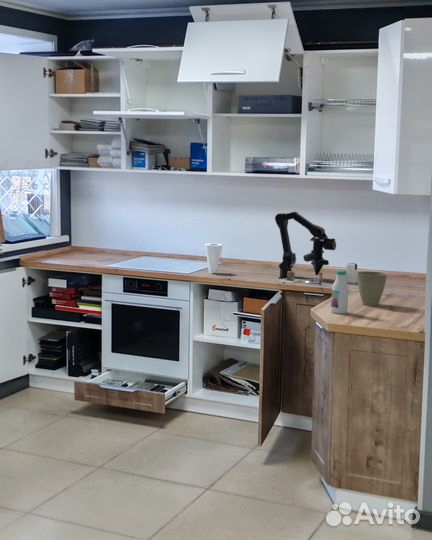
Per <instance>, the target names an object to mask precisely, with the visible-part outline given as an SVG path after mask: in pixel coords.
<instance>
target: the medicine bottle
mask: <svg viewBox="0 0 432 540" xmlns="http://www.w3.org/2000/svg"><path fill="white" fill-rule="evenodd" d="M345 271H346V276H345V278H346V282H347V284H358V281H357V272H359V271H358V264H357V263H354V262H348V263H347V264H346V270H345Z"/></svg>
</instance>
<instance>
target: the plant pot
mask: <svg viewBox="0 0 432 540" xmlns="http://www.w3.org/2000/svg"><path fill="white" fill-rule="evenodd" d="M387 277H388V274H387V273H386V272H381V271H358V272H357V281H358V282H357V287H358V291H359V295H360V299H361V302H362V305H363V306H367V307H368V306H369V307H376V306H379V304H380V300H381V299H382V296H383V293H384V290H385V286H386V283H387Z"/></svg>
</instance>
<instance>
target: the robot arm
mask: <svg viewBox="0 0 432 540" xmlns="http://www.w3.org/2000/svg"><path fill="white" fill-rule="evenodd" d="M274 220H275V223H276V226H277V227H278V229H279V235H280V239H281V245H282V250H283V254H282V261H281V263H279V265H278V268H279V277H278V279H281V278H284V279H286V278H287V272H288V271H292V269H293V267H294V265H295V264H296V263H297V257H296V256H297V255H296V253H295V252H293V251H292V247H291V241H290V237H289V236H290V235H289V229H288V225H289V221H290V220H294V221H296V222H297V223H298V224H300V225H301V226H302V227H304V228H305V229H306V230H308V231H309V233H310V235H312V238H310V239H309V241H310V242H313V243H312V245H313V246H312V249H311V250H310V252H309V253H307V254H305V255H303V260H304V262H307V263H309V262H310V264H311V266H313V270H314V271H313V272H314V275H315V276H319V273H321V271H322V268H323V266H329V265H330V262H329V260H328V259H324V257H323V253H325V250H329V251H335V250H336V249H337V242H336V239H335V238H329V237H328V235H327V234H326V230H325V228H323V227H321V226H320V225H317V224H314V223H312V222H311V221H310V220H309V219H306V218H305V217H304V216H303V215H301V214H300V213H299V212H297V211H292V212H288V213H285V212H282V213H281V212H280V213H276V215H275V216H274Z"/></svg>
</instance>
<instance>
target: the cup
mask: <svg viewBox="0 0 432 540" xmlns="http://www.w3.org/2000/svg"><path fill="white" fill-rule="evenodd" d="M204 246H205V253H206V260H207V269H208V274H209V273H217V274H218V269H219V263H220V259H221V254H222V249H223V244H222V243H205V244H204Z"/></svg>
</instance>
